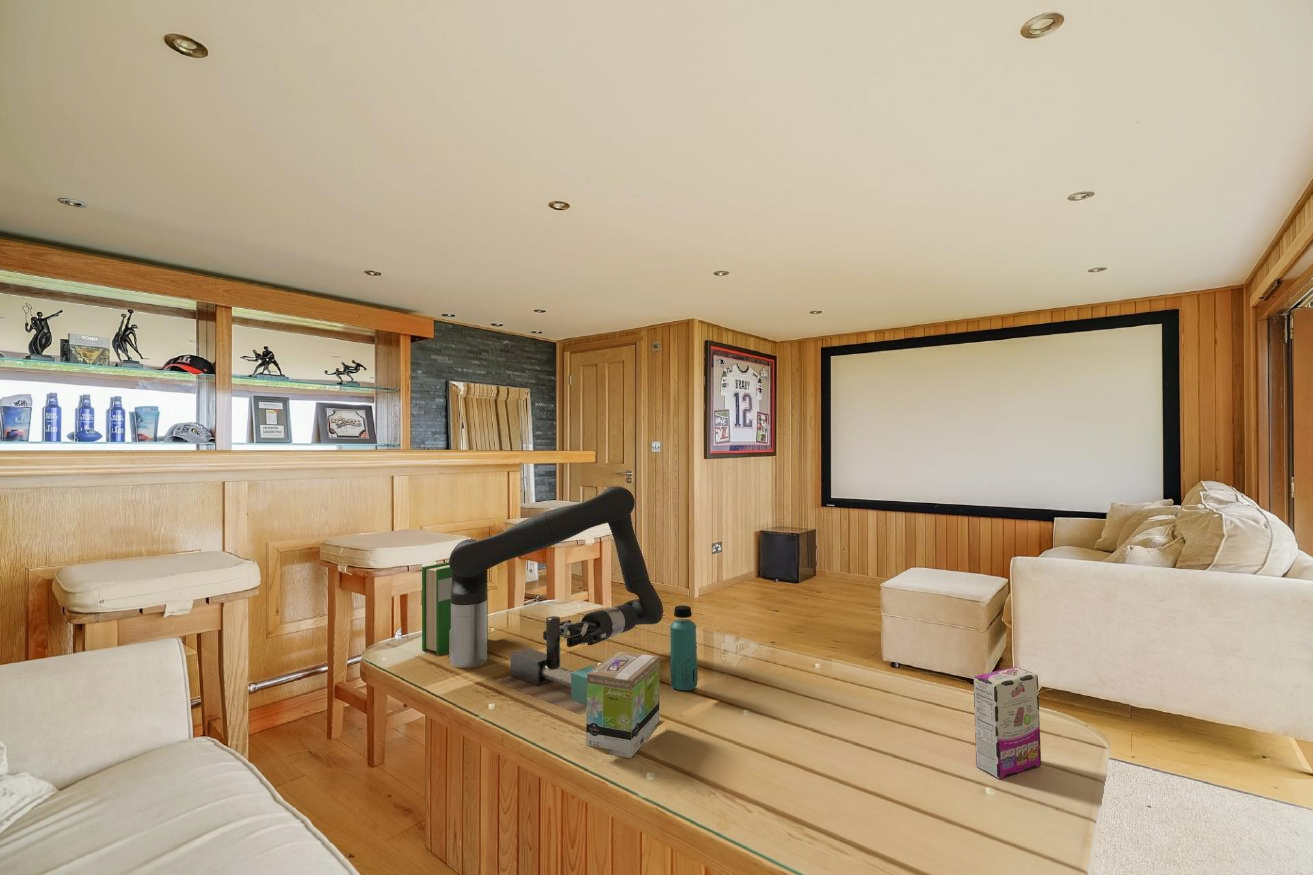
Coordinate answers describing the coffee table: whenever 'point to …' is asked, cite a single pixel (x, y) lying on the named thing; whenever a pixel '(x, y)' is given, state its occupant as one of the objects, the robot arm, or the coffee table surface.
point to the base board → (546, 693)
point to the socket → (580, 685)
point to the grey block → (528, 666)
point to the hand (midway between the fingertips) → (555, 639)
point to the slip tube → (554, 655)
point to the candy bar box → (1007, 722)
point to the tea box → (623, 702)
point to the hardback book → (437, 607)
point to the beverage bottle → (683, 650)
